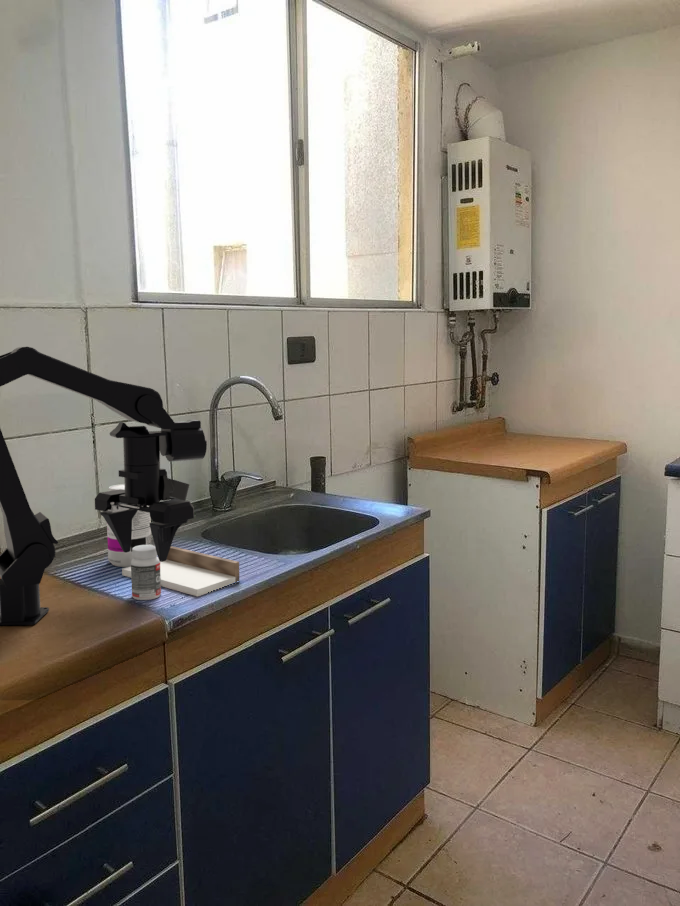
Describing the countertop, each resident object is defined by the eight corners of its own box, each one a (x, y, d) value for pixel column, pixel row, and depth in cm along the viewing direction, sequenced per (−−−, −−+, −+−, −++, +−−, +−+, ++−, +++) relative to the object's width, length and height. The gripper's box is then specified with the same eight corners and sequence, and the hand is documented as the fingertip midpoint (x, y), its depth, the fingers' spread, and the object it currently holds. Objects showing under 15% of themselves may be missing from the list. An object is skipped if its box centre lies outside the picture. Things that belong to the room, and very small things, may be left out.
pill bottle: (162, 598, 121) (161, 549, 120) (133, 602, 119) (131, 552, 118) (158, 590, 125) (157, 542, 124) (130, 593, 123) (128, 545, 122)
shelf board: (239, 582, 130) (239, 561, 129) (197, 596, 122) (197, 575, 121) (165, 563, 142) (164, 544, 141) (122, 575, 134) (121, 555, 133)
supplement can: (107, 569, 137) (104, 491, 135) (109, 557, 145) (106, 483, 143) (152, 566, 139) (149, 489, 137) (151, 555, 147) (149, 482, 145)
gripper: (218, 463, 120) (219, 555, 122) (144, 454, 131) (147, 538, 133) (165, 471, 111) (167, 570, 113) (91, 460, 122) (94, 551, 124)
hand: (144, 556), depth 121 cm, fingers open, 9 cm apart
